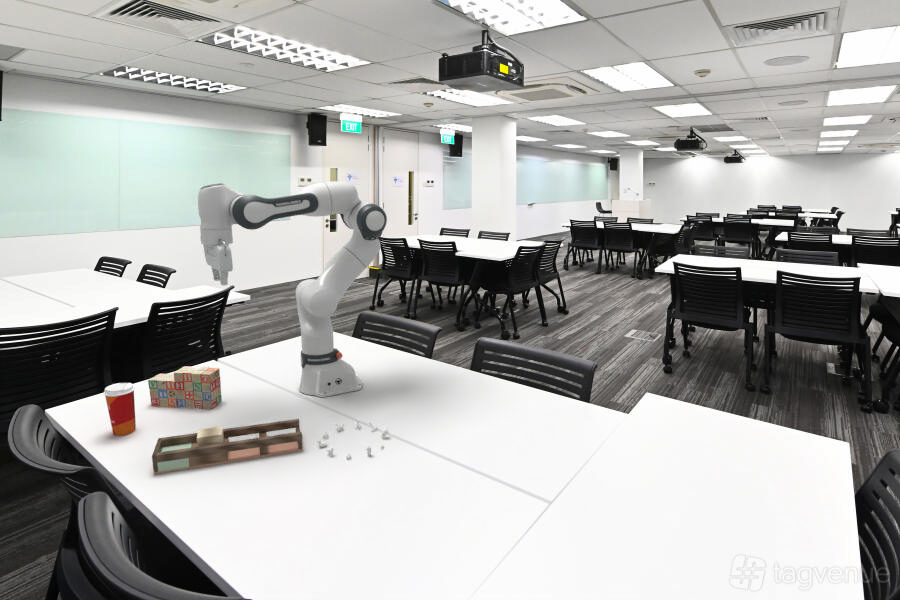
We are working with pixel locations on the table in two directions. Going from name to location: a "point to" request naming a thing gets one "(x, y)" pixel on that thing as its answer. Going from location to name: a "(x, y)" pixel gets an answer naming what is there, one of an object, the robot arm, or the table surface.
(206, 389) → the stack of blocks
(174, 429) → the table surface
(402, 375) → the table surface
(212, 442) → the maple block
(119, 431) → the paper cup
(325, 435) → the game piece set
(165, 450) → the track
